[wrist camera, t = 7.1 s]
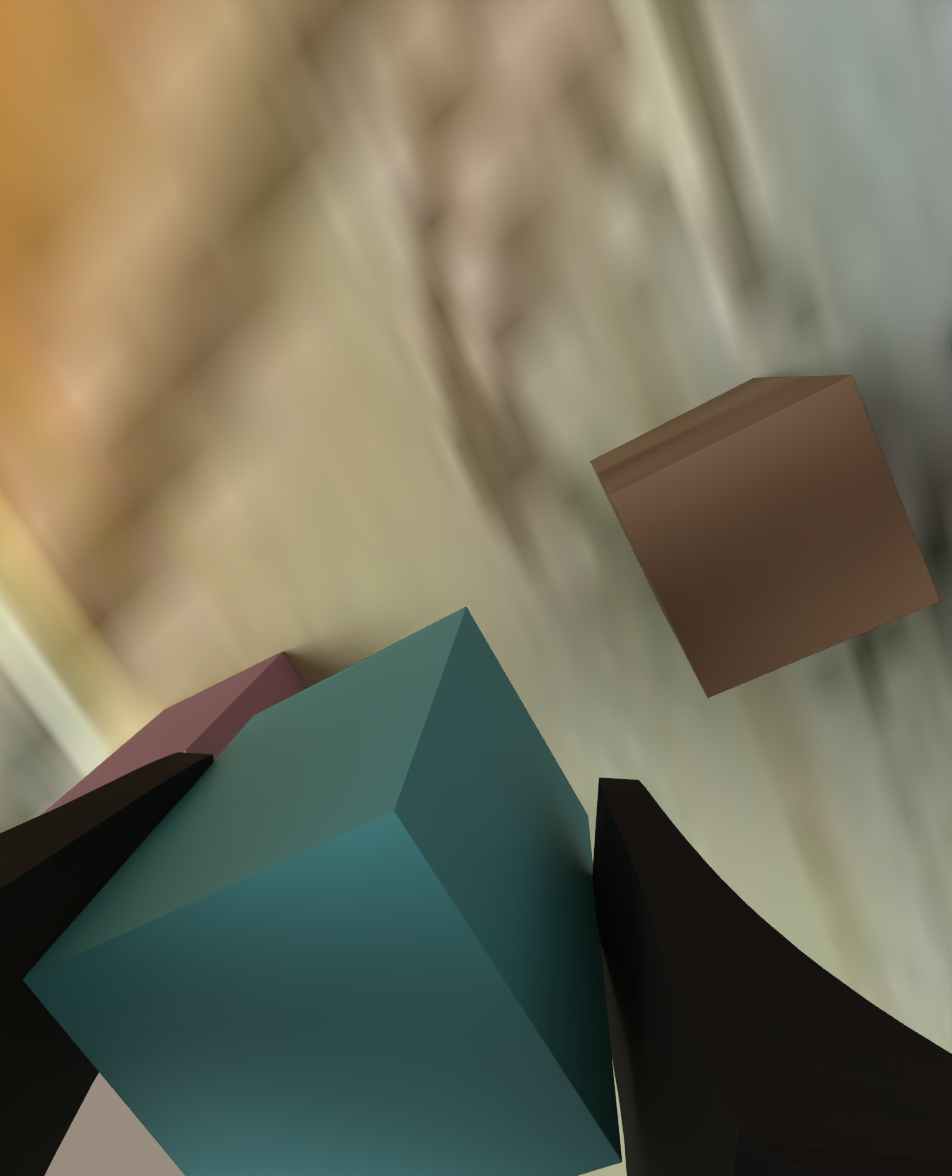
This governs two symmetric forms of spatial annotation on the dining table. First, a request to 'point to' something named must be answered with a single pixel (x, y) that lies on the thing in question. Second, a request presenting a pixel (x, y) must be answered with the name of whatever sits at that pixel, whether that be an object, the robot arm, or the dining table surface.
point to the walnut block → (767, 526)
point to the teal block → (359, 941)
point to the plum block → (198, 722)
